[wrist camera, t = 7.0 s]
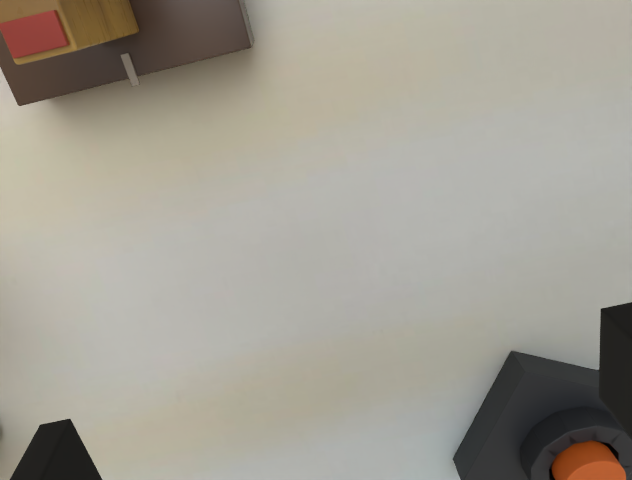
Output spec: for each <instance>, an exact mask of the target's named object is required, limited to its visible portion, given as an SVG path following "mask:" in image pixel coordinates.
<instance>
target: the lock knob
mask: <svg viewBox="0 0 632 480" xmlns="http://www.w3.org/2000/svg"><path fill="white" fill-rule="evenodd" d="M0 30H1V33H2V35H3V37H4V39H5V42H6V44H7V46H8V48H9V51H10V53H11V55H12V57H13V60H14V62H15V63H16V64H17V65H21V64H25V63H29V62H33V61H37V60H41V59H45V58H49V57H53V56H57V55H62V54H66V53H70V52H74V51H77V50H81V49H84V48H88V47H91V46H94V45H98V44H101V43H105V42H108V41H111V40H115V39H118V38H121V37H125V36H128V35H132V34H135V33H138V32H139V28H138V25H137V23H136V20H135V17H134V14H133V11H132V8H131V5H130V2H129V0H0Z"/></svg>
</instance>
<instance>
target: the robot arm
mask: <svg viewBox="0 0 632 480" xmlns="http://www.w3.org/2000/svg"><path fill="white" fill-rule="evenodd" d="M599 398H600V399H601V400H602V402H603V403H604V404H605V405H606V407H607V408H608V409H609V411H610V412H611V413H612V414H613V416H614V417H615V418H616V419H617V421H618V422H619V423H620V424H621V426H622V427H623V428H624V429H625V431H626V432H627V433H628V435H629V436H630V437H631V438H632V302H631V303H627V304H622V305H617V306H612V307H607V308H602V309H601V325H600V368H599ZM10 480H102V478H101V476H100V475H99V473H98V471H97V469H96V467H95V465H94V463H93V461H92V459H91V457H90V455H89V454H88V452H87V450H86V448H85V446H84V444H83V442H82V440H81V438H80V436H79V435H78V433H77V431H76V429H75V427H74V425H73V423H72V421H71V419H66V420H61V421H57V422H52V423H47V424H42V425H40V426H39V428H38V430H37V431H36V433H35V435H34V437H33V439H32V441H31V442H30V444H29V446H28V448H27V450H26V451H25V453H24V455H23V457H22V459H21V460H20V462H19V464H18V466H17V468H16V469H15V471H14V473H13V475H12V477H11V479H10Z"/></svg>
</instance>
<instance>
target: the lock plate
mask: <svg viewBox="0 0 632 480" xmlns="http://www.w3.org/2000/svg"><path fill="white" fill-rule="evenodd" d="M129 2H130V5H131V8H132V11H133V14H134V17H135V20H136V23H137V25H138V28H139V32H138V33H135V34H132V35H128V36H125V37H121V38H118V39H115V40H111V41H108V42H105V43H101V44H98V45H94V46H91V47H88V48H84V49H81V50H77V51H74V52H70V53H66V54H62V55H57V56H53V57H49V58H45V59H41V60H37V61H33V62H29V63H25V64H21V65H17V64H16V63H15V62H14V60H13V57H12V55H11V53H10V51H9V48H8V46H7V44H6V42H5V39H4V37H3V35H2V33H1V30H0V67H1V69H2V71H3V74H4V76H5V78H6V80H7V82H8V84H9V86H10V89H11V91H12V93H13V95H14V97H15V99H16V102H17V104H18V105H19V106H22V105H26V104H30V103H34V102H38V101H42V100H46V99H50V98H54V97H58V96H62V95H66V94H70V93H74V92H78V91H82V90H86V89H89V88H93V87H97V86H101V85H105V84H109V83H113V82H117V81H121V80H125V79H129V80H130V82H131V85H132V87H133V86H137V85H140V82H139V79H138V77H137V76H141V75H145V74H149V73H153V72H157V71H161V70H165V69H169V68H173V67H177V66H181V65H185V64H188V63H192V62H196V61H200V60H204V59H208V58H212V57H216V56H220V55H224V54H228V53H232V52H236V51H240V50H244V49H248V48H251V47H252V45H253V43H254V38H253V34H252V31H251V27H250V23H249V19H248V15H247V12H246V8H245V4H244V0H129Z"/></svg>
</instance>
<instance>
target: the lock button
mask: <svg viewBox="0 0 632 480" xmlns="http://www.w3.org/2000/svg"><path fill="white" fill-rule="evenodd" d="M551 470H552V475H553V477H554V478H555V480H626V473H625V471H624V469H623V467H622V466H621V465H620V463H619V462H618V460H617V459H616V458H615V456H614V455H613V453H612V452H611V451H610V449H609V448H608V447H607V446H606V445H604V444H603V443H600V442H597V441H586V442H582V443H577V444H573V445H572V446H570V447H569V448H567V449H566V450H564V451H562V452H561V453H559V454H558V455H557V456H556V458H555V459H554V461H553V463H552V469H551Z"/></svg>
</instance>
